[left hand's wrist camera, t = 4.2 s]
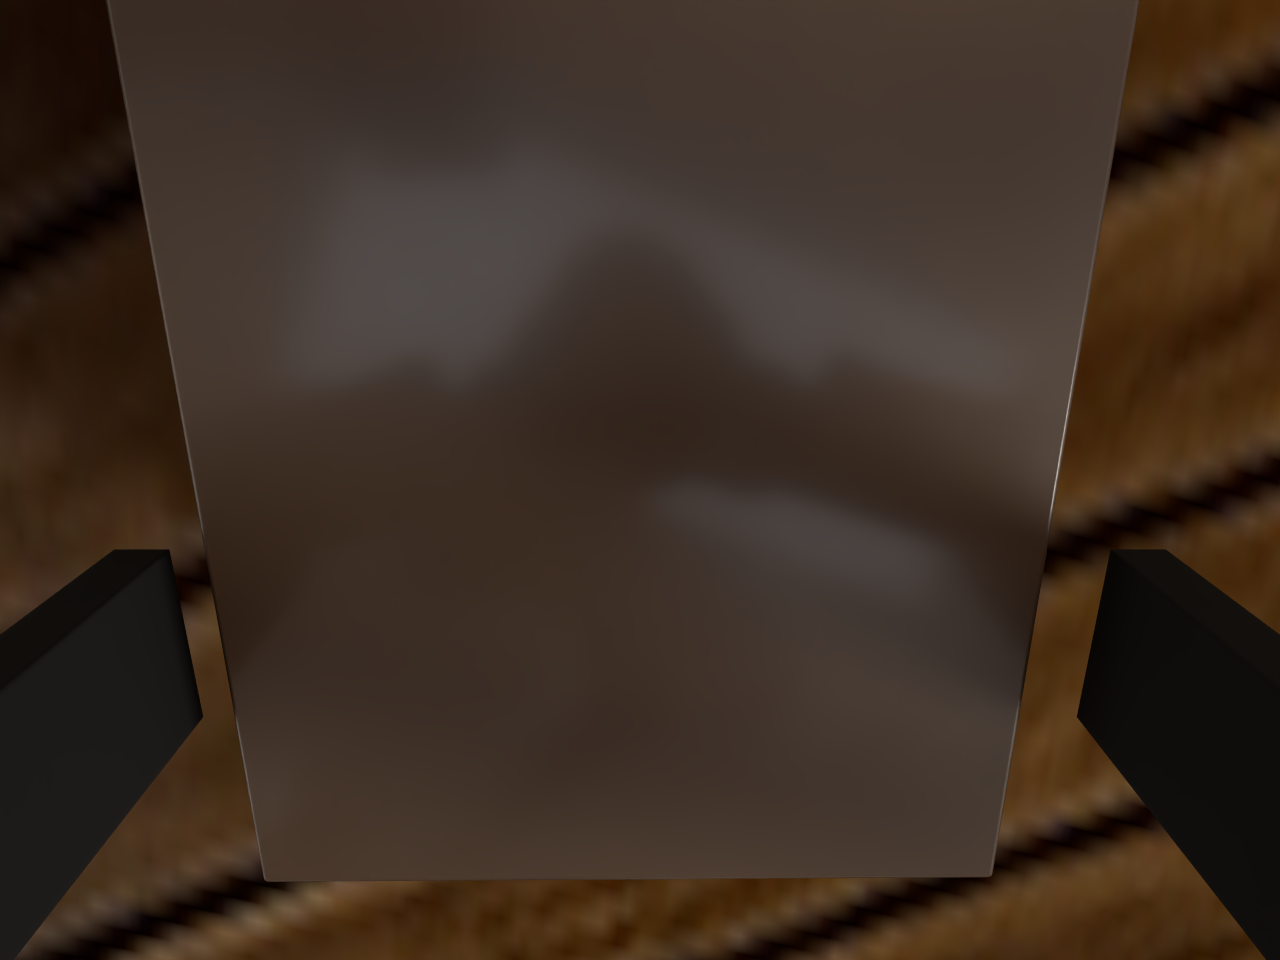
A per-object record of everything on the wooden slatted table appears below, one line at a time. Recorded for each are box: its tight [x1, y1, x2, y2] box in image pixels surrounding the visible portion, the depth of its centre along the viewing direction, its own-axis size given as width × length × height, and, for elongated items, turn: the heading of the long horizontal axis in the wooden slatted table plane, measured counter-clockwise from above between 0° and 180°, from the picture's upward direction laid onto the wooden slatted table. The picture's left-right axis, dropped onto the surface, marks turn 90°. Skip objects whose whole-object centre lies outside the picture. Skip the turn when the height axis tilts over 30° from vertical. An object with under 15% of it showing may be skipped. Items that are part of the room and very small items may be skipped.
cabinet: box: [106, 0, 1139, 882], centre depth 14 cm, size 22×11×10 cm, turn 0°
